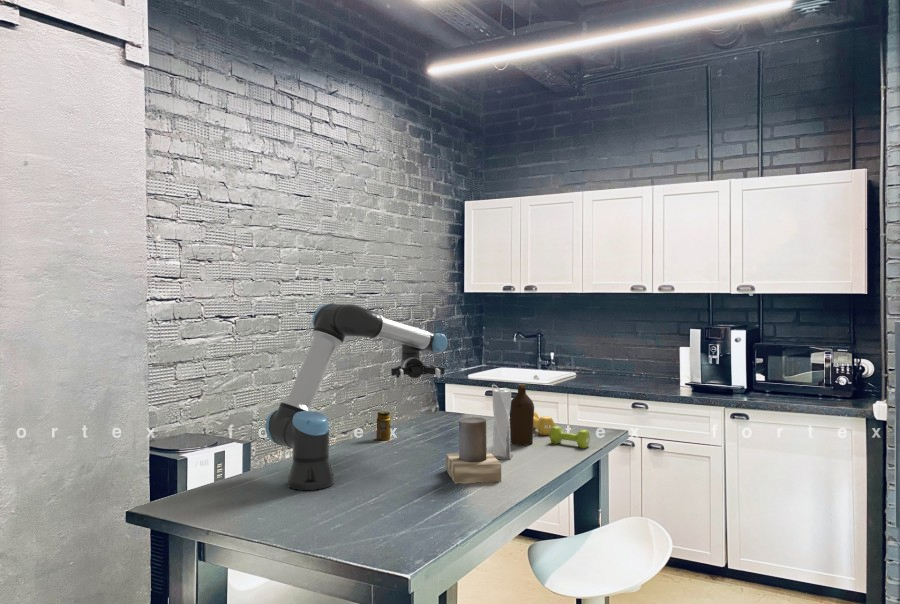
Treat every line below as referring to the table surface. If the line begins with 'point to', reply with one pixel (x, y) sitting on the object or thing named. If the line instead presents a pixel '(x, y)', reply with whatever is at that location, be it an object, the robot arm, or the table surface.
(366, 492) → the table surface
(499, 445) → the skyscraper
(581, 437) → the dumbbell
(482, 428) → the pillar candle
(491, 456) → the oak block
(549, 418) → the dumbbell
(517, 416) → the olive oil
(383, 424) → the condiment
